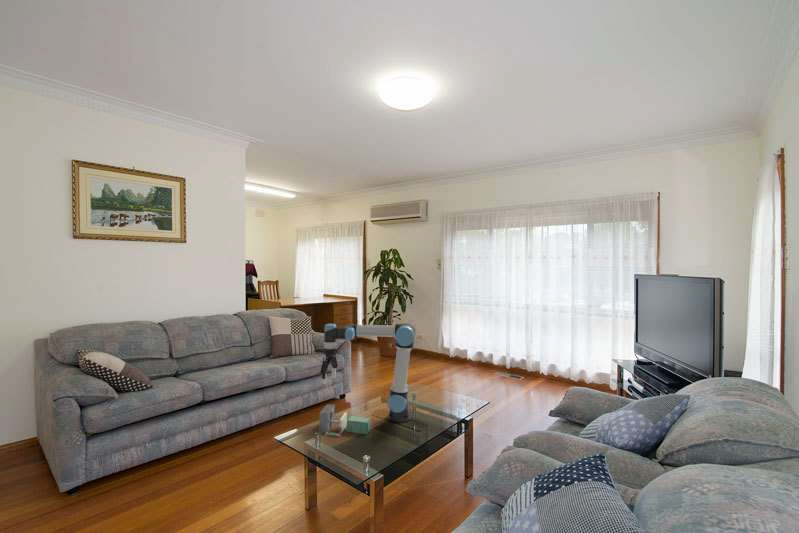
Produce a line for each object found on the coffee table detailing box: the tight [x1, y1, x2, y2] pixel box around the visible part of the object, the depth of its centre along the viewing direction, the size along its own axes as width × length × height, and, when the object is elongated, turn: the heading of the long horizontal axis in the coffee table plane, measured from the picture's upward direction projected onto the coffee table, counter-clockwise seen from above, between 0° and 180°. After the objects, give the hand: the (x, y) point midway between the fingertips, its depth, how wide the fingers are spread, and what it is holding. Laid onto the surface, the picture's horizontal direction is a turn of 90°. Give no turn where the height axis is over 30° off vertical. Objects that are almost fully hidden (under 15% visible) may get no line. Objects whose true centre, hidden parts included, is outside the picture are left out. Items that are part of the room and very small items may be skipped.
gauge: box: [318, 403, 342, 437], centre depth 227 cm, size 14×16×12 cm
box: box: [345, 415, 372, 435], centre depth 226 cm, size 7×14×8 cm, turn 79°
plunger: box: [330, 411, 348, 434], centre depth 226 cm, size 13×16×8 cm
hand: (329, 380), depth 239 cm, fingers open, 13 cm apart
